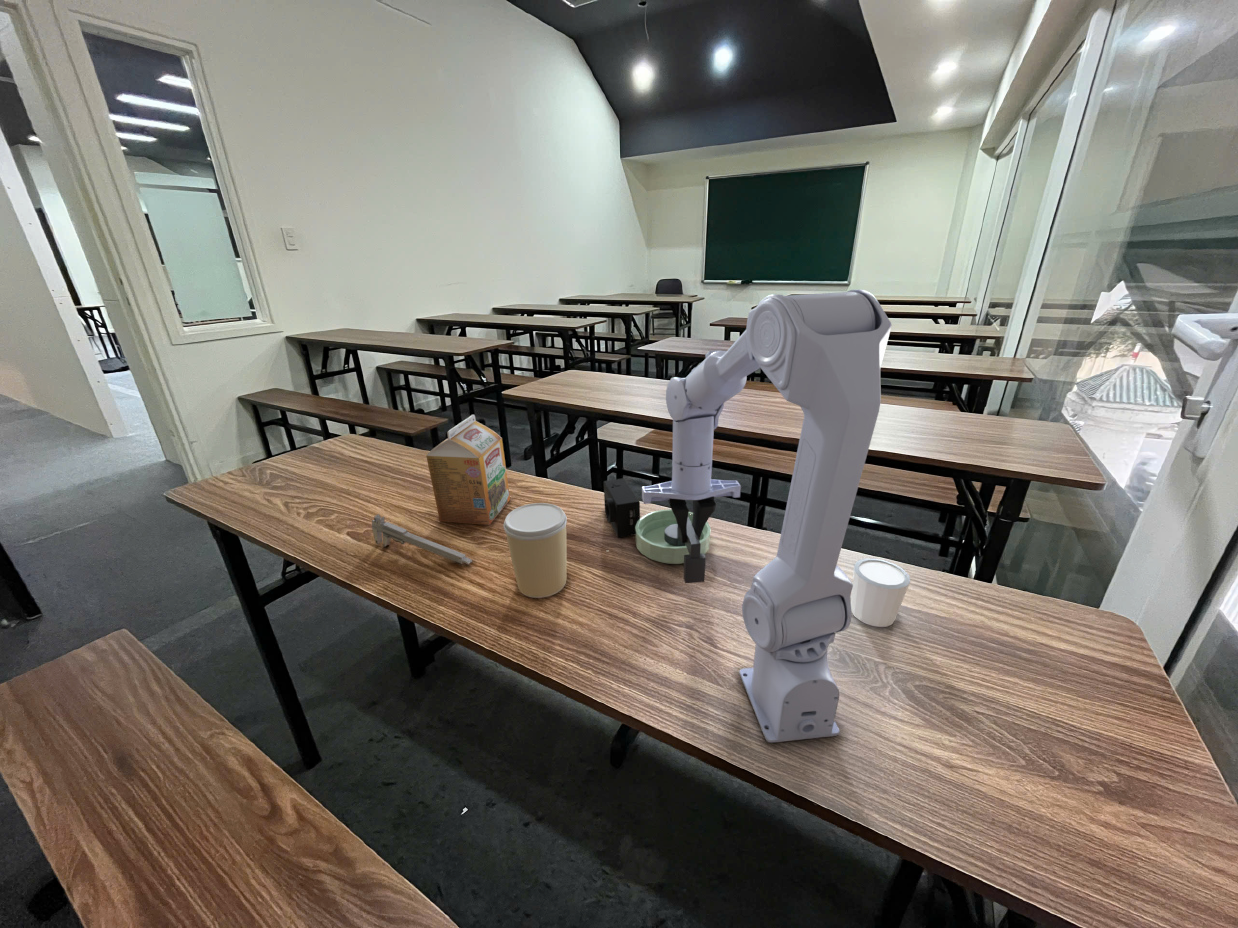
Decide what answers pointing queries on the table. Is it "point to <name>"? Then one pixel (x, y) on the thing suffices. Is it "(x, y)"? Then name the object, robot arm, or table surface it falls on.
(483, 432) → the milk carton
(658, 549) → the bowl
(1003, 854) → the table surface
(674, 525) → the grey lever handle
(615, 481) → the digital camera
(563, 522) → the cream lidded canister
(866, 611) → the white round tub
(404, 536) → the caliper
